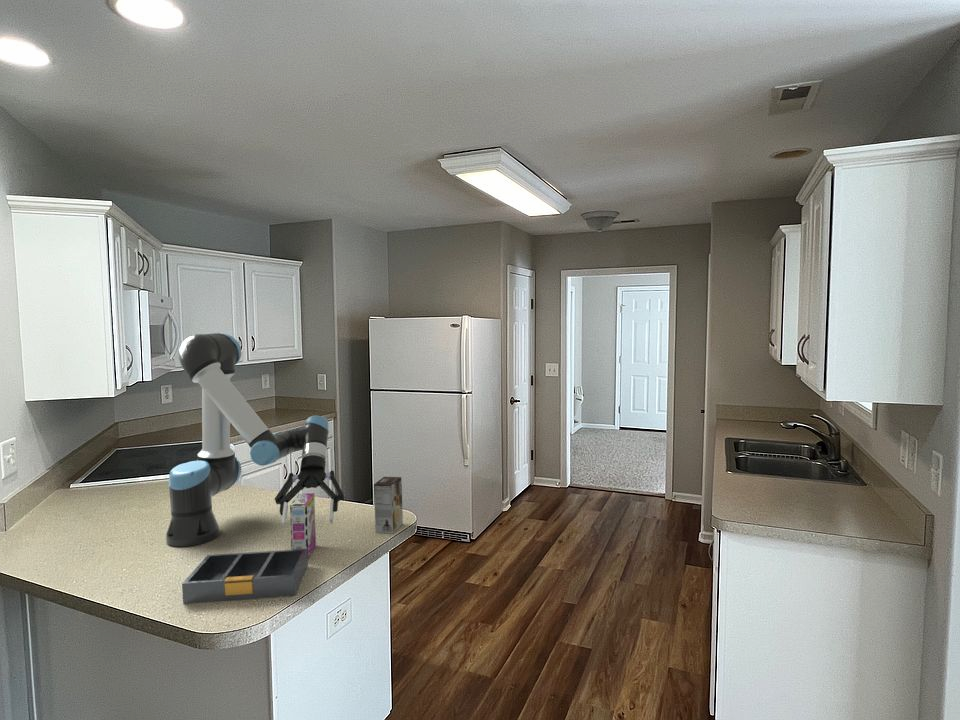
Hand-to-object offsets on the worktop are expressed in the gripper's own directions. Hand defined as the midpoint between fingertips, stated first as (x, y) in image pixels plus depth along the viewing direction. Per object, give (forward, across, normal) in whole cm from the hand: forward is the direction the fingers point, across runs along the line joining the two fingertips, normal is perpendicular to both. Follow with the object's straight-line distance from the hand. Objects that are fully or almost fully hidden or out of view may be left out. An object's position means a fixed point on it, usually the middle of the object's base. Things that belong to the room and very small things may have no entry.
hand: (307, 523), depth 166 cm
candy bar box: (+7, +1, -6) cm, 9 cm away
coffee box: (-4, -23, -18) cm, 29 cm away
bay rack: (+19, +12, +7) cm, 23 cm away
